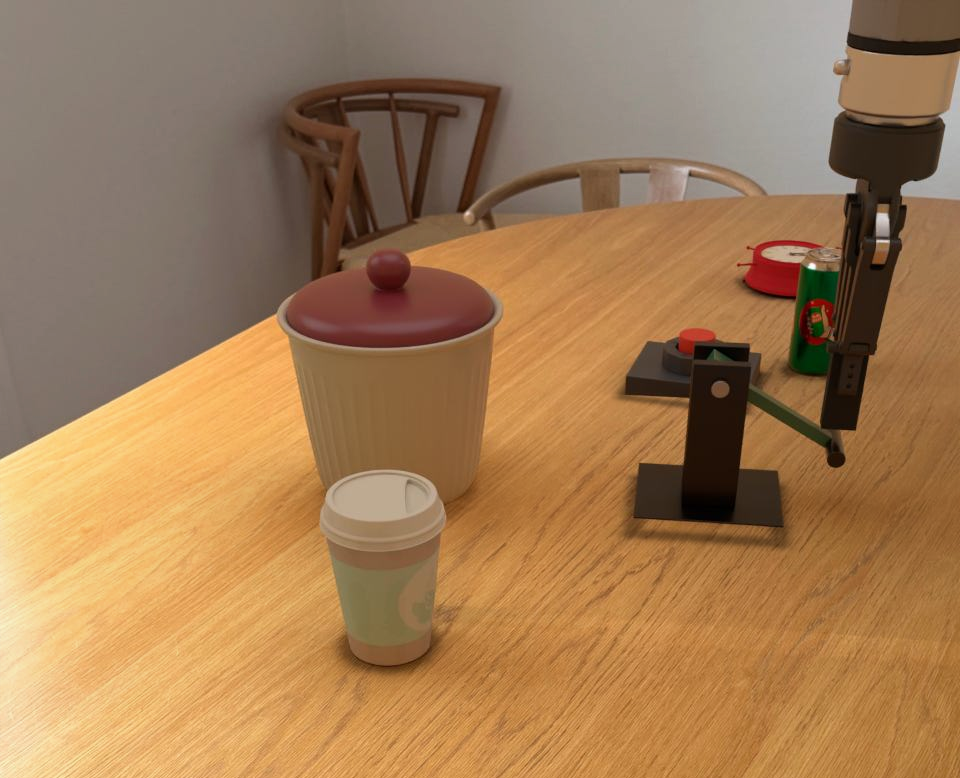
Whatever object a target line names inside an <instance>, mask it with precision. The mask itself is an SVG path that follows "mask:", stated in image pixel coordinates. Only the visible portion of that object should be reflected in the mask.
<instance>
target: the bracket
mask: <svg viewBox="0 0 960 778" xmlns="http://www.w3.org/2000/svg"><path fill="white" fill-rule="evenodd" d="M714 349H715V350H717V351H718V352H720V353H722V354H723V355H725V356H727V357H728V358H730V359H732V360H733V361H716V360H707V358H708V357H709V355H710V354H711V353H712V351H713V350H714ZM750 352H751V343H749V342H732V341H731V342H729V341H723V342H710V341H694V351H693V362H692V373H691V385H690V396H689V398H688V409H687V419H686V431H685V443H684V454H683V464H670V463H669V464H668V463H651V462H639V463H638V470H637V479H636V480H637V481H636V490H635V499H634V509H633V519H640V520H641V519H643V520H656V521H657V520H658V521H672V522H690V523H705V524H720V525H721V524H722V525H735V526H736V525H737V526H751V527H752V526H753V527H767V528H768V527H769V528H784V520H783V519H784V518H783V510H782V499H781V490H780V489H781V488H780V478H779V471H778V470H775V469H773V470H772V469H756V468H755V469H754V468H741V460H742V452H743V451H742V450H743V442H744V436H745V435H744V433H745V425H746V416H747V409H748V393H749V384H750V376H751V362H749V353H750Z"/></svg>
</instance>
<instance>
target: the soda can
mask: <svg viewBox="0 0 960 778" xmlns="http://www.w3.org/2000/svg"><path fill="white" fill-rule="evenodd" d="M835 248H836V247H825V248H814V249H810V250H808V251H807V252H806V257H805V258H804V259H803V260H802V262H801V265H800V273H799V280H798V288H797V295H796V296H795V303H794V311H793V318H792V325H791V334H790V341H789V348H788V355H787V363H788V365H789V367H790V368H791V370H793V371H794V372H796V373H799V374H801V375H806V376H823V375H827V373H828V367H829V361H830V355H831V353H827V351H826V349H827V342H837V341H834V337H833V336H832V334H833V330H834V329H835V325H833V323H832V314H833V313H834V307H835V299H836V291H837V284H838V276H839V268H840V260H841V253H842V250H840V249H835Z"/></svg>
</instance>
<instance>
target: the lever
mask: <svg viewBox="0 0 960 778" xmlns="http://www.w3.org/2000/svg"><path fill="white" fill-rule="evenodd" d="M707 360H716V361H733V360H732V359H730V358H728V357H727V356H725V355H723V354H722V353H720V352H718V351H717V350H715V349H714V350H713V351H712V353H711V354H710V355H709V357H708V358H707ZM747 403H750V404H751V405H753V406H755V407H756V408H758V409H759V410H761V411H763V412H765V413H766V414H767V415H769V416H771V417H773V418H774V419H776V420H777V421H779V422H781V423H782V424H784V425H786V426H787V427H789V428H791V429H793V430H794V431H796V432H797V433H799V434H801V435H803V436H804V437H806V439H809V440H811V441H812V442H813V443H815V444H817V445H818V446H820V447H821V448H823V449H824V452H825V458H826V462H827V465H828V466H829V467H831V468H832V469H839V468H841V467H843V466H844V465H845V463H846V460H847V458H846V452H845V448H844V442H843V437H842V433H841V430H832V429H821V425H820V424H817V423H815V422H814V421H812V420H810V418H808V417H805V415H803V414H801V413H799V412H798V411H796V410H794V409H793V408H791V407H789V406H787V404H785V403H783V402H781V401H780V400H778V399H776V398H775V397H773V396H771V395H769V394H768V393H767V392H765V391H763V390H762V389H760V388H759V387H757V386H755V385H754V386H753V385H752V384H749V393H748V401H747Z"/></svg>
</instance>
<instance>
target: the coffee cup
mask: <svg viewBox="0 0 960 778" xmlns="http://www.w3.org/2000/svg"><path fill="white" fill-rule="evenodd" d="M319 517H320V518H319V521H318V524H319V529H320V531H321V533H322V534H323V536H324V537H325V538H326V544H327V548H328V553H329V557H330V562H331V567H332V571H333V575H334V581H335V585H336V590H337V594H338V599H339V604H340V609H341V613H342V617H343V621H344V626H345V631H346V635H347V639H348V644H349V648H350V651H351V652H352V654H353V655H354V656H355V657H357V658H358V659H359V660H361V661H362V662H365V663H368V664H372V665H376V666H384V667H385V666H389V667H391V666H398V665H403V664H404V665H405V664H407V663H410V662H413V661H415V660H417V659H419V658H420V657H422V656H423V655H424V654H425V653H426V652H427V651H428V650H429V648H430V646H431V639H432V631H433V622H434V621H433V620H434V610H435V600H436V588H437V580H438V570H439V569H438V568H439V558H440V547H441V537H442V536H441V535H442V530H443V529H444V528H445V526H446V523H447V513H446V511H445V504H444V505H443V503H442V501H441V500H440V498H439V496H438V493H437V490H436V488H435V486H434V485H433V484H432V483H431V482H430V481H429V480H427V479H426V478H424V477H422V476H420V475H417V474H414V473H410V472H406V471H399V470H373V471H366V472H361V473H357V474H353V475H350V476H348V477H345V478H343V479H341V480H339V481H338V482H336V483H335V484H334V485H332V486H331V487H330V489H329V490H328V492H327V491H326V494H325V498H324V503H323V505H322V506H321V509H320V515H319Z"/></svg>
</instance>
